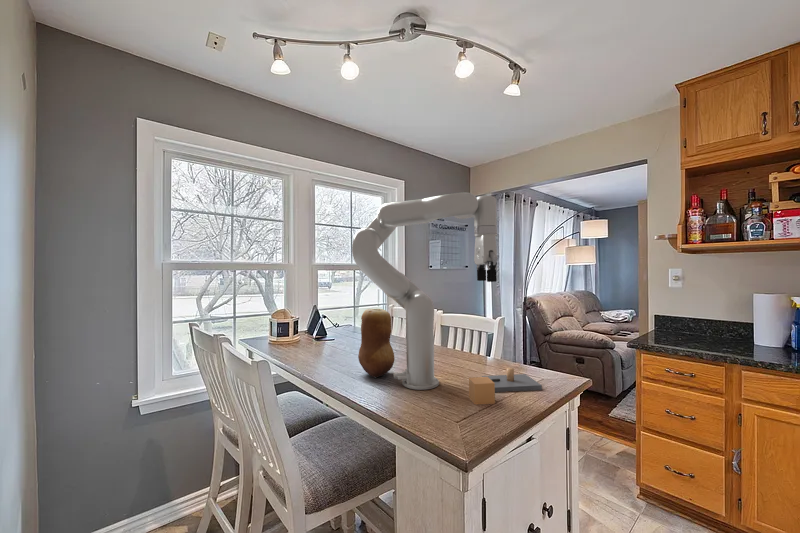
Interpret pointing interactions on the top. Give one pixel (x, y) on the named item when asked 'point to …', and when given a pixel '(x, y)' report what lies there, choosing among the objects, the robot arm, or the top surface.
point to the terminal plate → (514, 382)
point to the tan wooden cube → (482, 390)
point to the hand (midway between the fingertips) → (486, 281)
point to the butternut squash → (376, 342)
